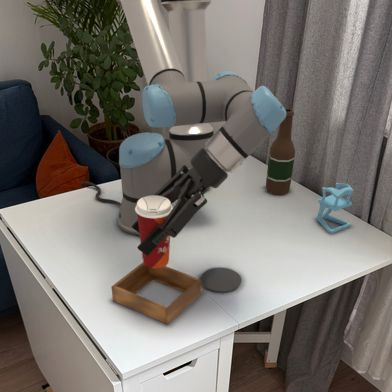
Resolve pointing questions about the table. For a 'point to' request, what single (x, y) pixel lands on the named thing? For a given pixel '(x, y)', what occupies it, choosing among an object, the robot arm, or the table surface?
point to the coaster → (221, 280)
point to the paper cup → (148, 220)
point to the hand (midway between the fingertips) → (139, 240)
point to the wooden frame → (143, 275)
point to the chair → (334, 205)
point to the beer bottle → (281, 158)
